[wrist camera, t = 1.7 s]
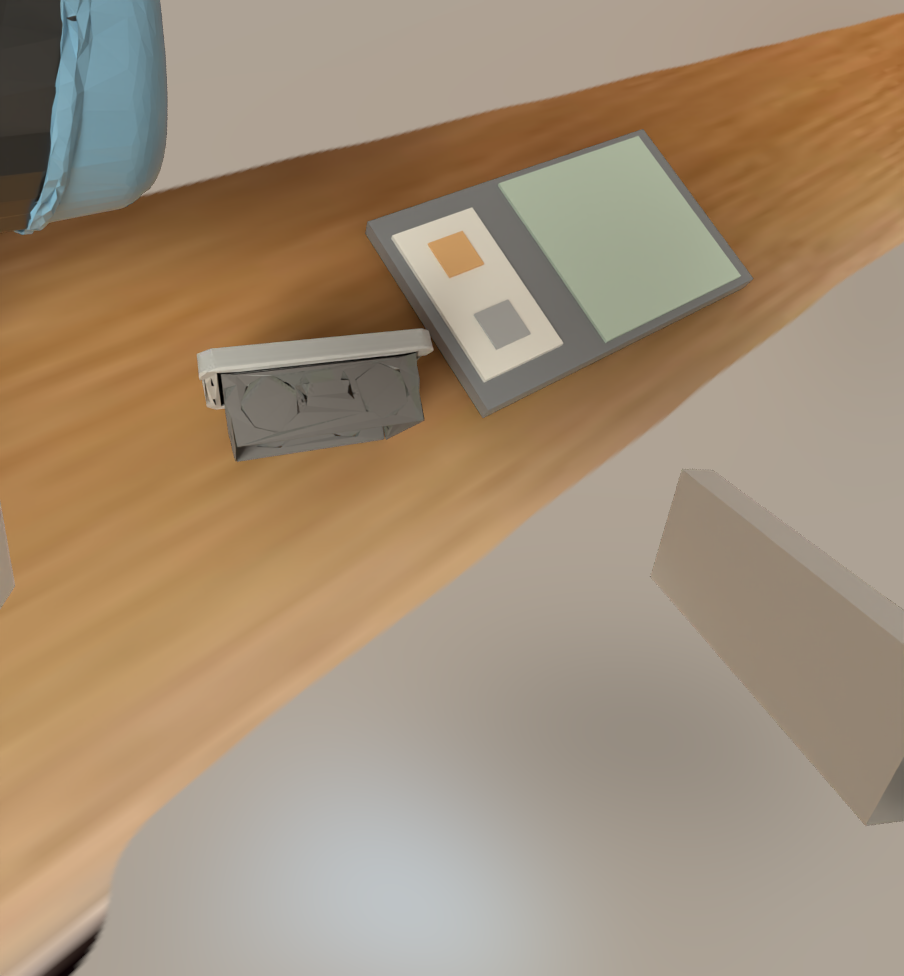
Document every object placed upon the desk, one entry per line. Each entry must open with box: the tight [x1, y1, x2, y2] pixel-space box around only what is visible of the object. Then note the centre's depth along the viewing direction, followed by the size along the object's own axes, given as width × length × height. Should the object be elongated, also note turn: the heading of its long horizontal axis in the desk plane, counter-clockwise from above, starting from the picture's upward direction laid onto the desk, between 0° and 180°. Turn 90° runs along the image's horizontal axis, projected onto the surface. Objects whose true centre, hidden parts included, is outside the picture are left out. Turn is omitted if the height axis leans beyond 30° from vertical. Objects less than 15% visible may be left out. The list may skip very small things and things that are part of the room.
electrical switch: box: [197, 328, 433, 461], centre depth 30 cm, size 9×5×9 cm, turn 104°
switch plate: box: [365, 129, 753, 418], centre depth 41 cm, size 22×13×2 cm, turn 122°
